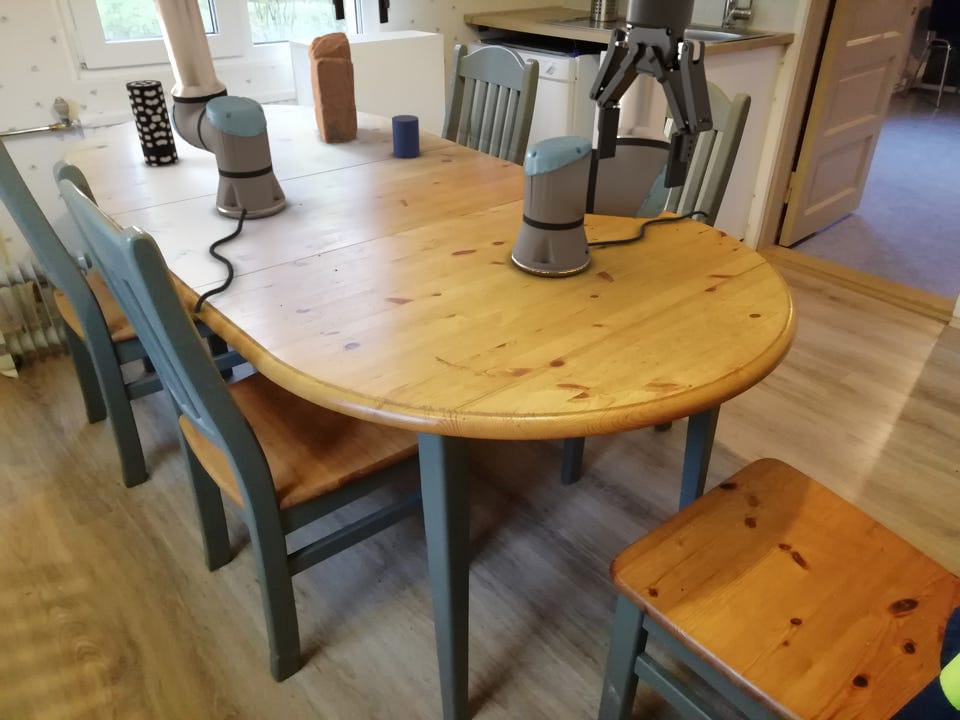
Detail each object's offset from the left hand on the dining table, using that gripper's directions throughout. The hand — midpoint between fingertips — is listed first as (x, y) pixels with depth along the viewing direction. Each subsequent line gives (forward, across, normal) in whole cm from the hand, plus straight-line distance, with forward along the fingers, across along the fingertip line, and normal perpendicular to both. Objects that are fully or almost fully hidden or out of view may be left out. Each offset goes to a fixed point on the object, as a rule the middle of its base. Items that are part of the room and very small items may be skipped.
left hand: (362, 21), depth 176 cm
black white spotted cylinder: (+24, +45, +34) cm, 61 cm away
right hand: (+5, -94, +70) cm, 117 cm away
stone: (+34, +21, -12) cm, 42 cm away
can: (+34, -8, -5) cm, 36 cm away
